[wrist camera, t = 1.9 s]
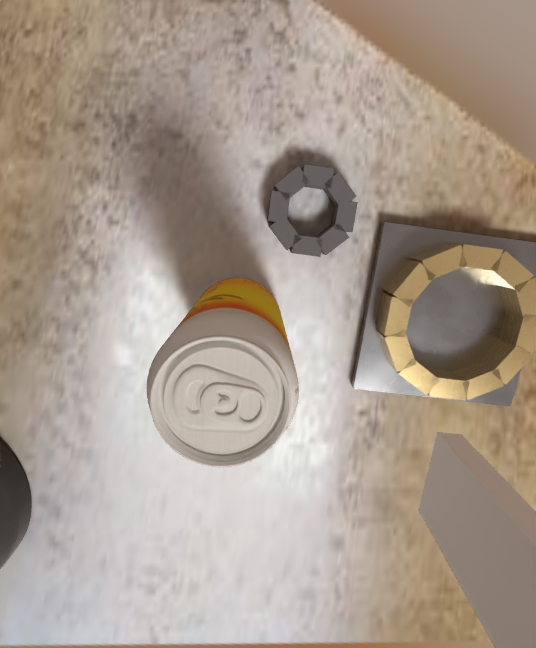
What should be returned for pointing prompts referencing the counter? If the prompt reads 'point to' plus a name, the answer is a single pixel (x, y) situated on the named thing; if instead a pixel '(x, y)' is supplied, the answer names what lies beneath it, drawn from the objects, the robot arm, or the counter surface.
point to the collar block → (447, 315)
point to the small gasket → (337, 194)
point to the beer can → (225, 377)
